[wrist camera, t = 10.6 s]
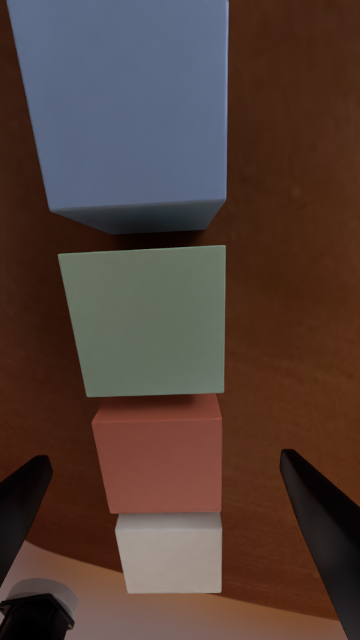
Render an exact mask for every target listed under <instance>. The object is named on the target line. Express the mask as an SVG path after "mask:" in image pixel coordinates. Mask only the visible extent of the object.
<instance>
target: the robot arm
mask: <svg viewBox="0 0 360 640" xmlns="http://www.w3.org/2000/svg"><path fill="white" fill-rule="evenodd" d="M279 466H280V472H281V475H282V478H283V481H284V484H285V487H286V490H287V493H288V496H289V499H290V502H291V505H292V508H293V510H294V513H295V516H296V519H297V522H298V525H299V527H300V530H301V532H302V534H303V537H304V539H305V541H306V544H307V546H308V548H309V551H310V553H311V555H312V558H313V560H314V562H315V564H316V567H317V569H318V571H319V574H320V576H321V578H322V581H323V583H324V585H325V588H326V590H327V592H328V595H329V597H330V599H331V601H332V604H333V606H334V608H335V611H336V613H337V615H338V618H339V620H340V622H341V625H342V627H343V629H344V631H345V634H346V636H347V638H348V640H360V507H359V506H358V505H357V504H356V503H354V502H353V501H352V500H351V499H350V498H349V497H348V496H346V495H345V494H344V493H343V492H342V491H341V490H340V489H338V488H337V487H336V486H335V485H334V484H333V483H332V482H330V481H329V480H328V479H327V478H326V477H325V476H324V475H322V474H321V473H320V472H319V471H318V470H317V469H316V468H314V467H313V466H312V465H311V464H310V463H309V462H308V461H306V460H305V459H304V458H303V457H302V456H301V455H300V454H298V453H297V452H296V451H295V450H293V449H282V451H281V456H280V465H279ZM52 474H53V470H52V466H51V463H50V460H49V457H48V456H47V455H37V456H35V457H33V458H32V459H31V460H29V461H28V462H27V463H25V464H24V465H23V466H22V467H20V468H19V469H18V470H16V471H15V472H14V473H12V474H11V475H10V476H8V477H7V478H6V479H4V480H3V481H2V482H0V587H1V585H2V583H3V581H4V579H5V577H6V575H7V573H8V571H9V569H10V567H11V565H12V563H13V561H14V559H15V557H16V556H17V554H18V552H19V550H20V548H21V546H22V544H23V542H24V540H25V538H26V536H27V534H28V532H29V530H30V527H31V525H32V523H33V521H34V518H35V516H36V514H37V511H38V509H39V506H40V504H41V502H42V499H43V497H44V495H45V492H46V490H47V487H48V485H49V483H50V480H51V478H52ZM0 612H1V613H2V614H3V615H4V616H5V617H4V619H3V621H2V623H1V625H0V640H64V639H65V635H66V632H67V631H69V630H73V627H74V624H75V621H74V620H73V619H72V618H71V617H70V615H69V614H68V613H67V612H66V611H65V609H64V608H63V607H62V606H61V605H60V603H59V602H58V601H57V600H56V599H55V597H54V596H53V595H52V594H50V593H44V594H38V595H32V596H27V597H21V598H16V599H10V600H4V601H1V602H0Z"/></svg>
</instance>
